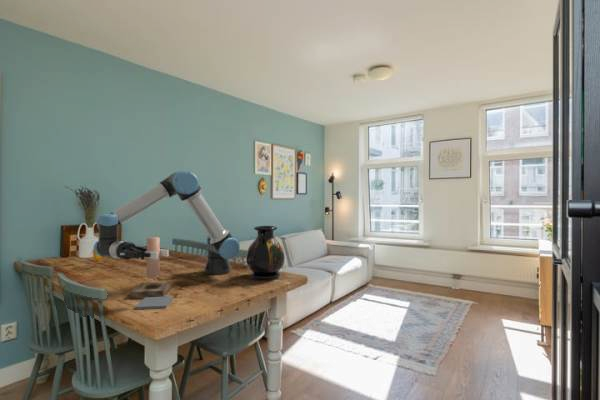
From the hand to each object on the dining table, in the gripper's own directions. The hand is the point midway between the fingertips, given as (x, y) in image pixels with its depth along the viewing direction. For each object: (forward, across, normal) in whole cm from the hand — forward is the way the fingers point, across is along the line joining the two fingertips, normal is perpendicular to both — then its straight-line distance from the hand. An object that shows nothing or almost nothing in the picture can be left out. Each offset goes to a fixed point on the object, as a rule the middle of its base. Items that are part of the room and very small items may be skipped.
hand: (162, 254), depth 132 cm
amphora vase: (+17, -56, -21) cm, 63 cm away
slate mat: (-4, 0, -21) cm, 21 cm away
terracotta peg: (-5, 0, -10) cm, 11 cm away
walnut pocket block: (-17, -10, -21) cm, 29 cm away
